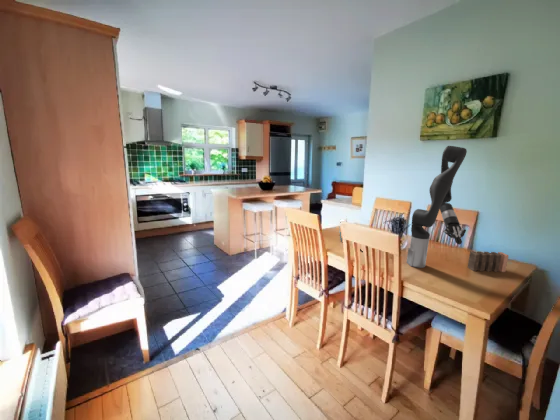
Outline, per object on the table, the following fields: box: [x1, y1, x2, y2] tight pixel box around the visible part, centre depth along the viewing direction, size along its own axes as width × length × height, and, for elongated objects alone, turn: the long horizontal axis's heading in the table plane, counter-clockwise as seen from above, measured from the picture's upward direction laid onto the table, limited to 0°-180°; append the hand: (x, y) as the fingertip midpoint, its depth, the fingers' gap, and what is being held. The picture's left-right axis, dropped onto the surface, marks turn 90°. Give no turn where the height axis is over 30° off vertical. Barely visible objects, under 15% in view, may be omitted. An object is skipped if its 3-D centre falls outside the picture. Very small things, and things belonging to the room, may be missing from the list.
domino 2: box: [476, 251, 487, 272], centre depth 153 cm, size 2×5×10 cm, turn 179°
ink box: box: [339, 215, 348, 233], centre depth 214 cm, size 8×5×15 cm, turn 168°
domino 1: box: [467, 250, 480, 272], centre depth 153 cm, size 2×5×10 cm, turn 179°
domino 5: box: [497, 251, 509, 273], centre depth 153 cm, size 2×5×10 cm, turn 179°
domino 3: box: [483, 251, 494, 273], centre depth 153 cm, size 2×5×10 cm, turn 179°
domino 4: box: [490, 251, 501, 273], centre depth 153 cm, size 2×5×10 cm, turn 179°
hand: (459, 243), depth 157 cm, fingers closed
